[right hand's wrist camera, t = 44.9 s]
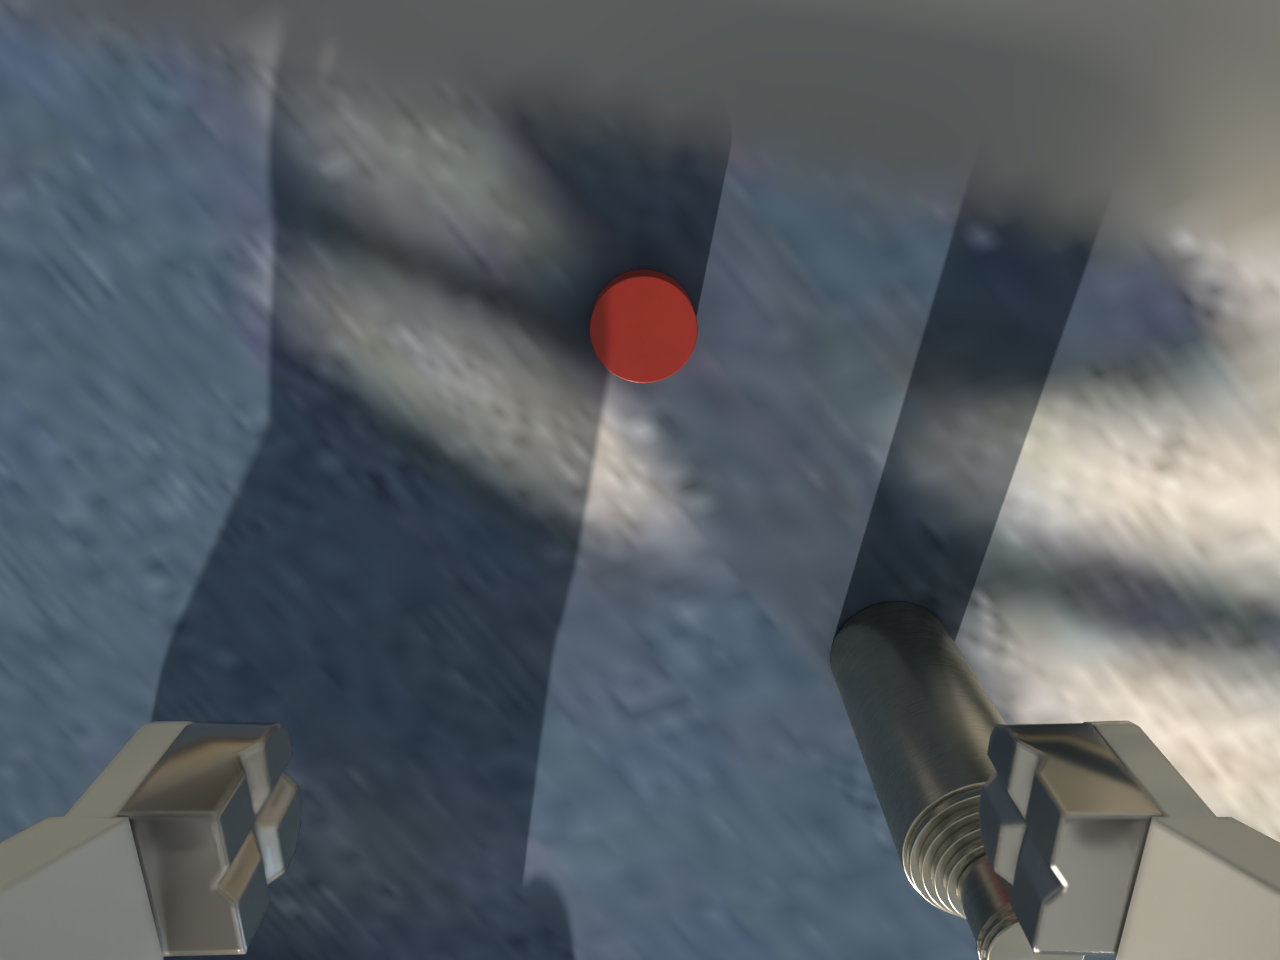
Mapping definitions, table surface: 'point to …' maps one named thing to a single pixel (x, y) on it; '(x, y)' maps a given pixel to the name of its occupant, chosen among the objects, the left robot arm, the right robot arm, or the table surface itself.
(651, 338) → the cap
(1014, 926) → the bottle
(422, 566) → the table surface
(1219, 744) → the table surface
